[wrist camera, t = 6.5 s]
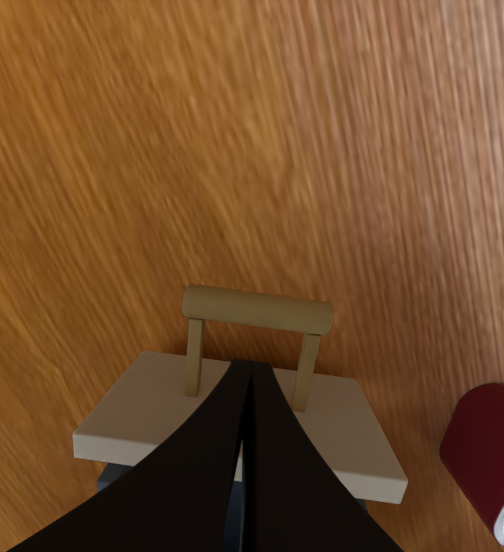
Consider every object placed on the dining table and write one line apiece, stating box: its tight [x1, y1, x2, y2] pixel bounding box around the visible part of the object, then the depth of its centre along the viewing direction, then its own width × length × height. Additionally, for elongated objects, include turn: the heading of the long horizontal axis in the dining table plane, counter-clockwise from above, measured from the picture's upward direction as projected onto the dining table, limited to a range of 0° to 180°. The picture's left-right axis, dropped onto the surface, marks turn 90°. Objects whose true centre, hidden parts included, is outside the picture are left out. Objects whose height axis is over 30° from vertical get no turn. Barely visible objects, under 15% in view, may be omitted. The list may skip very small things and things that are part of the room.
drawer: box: [73, 284, 408, 552], centre depth 14 cm, size 20×12×6 cm, turn 173°
